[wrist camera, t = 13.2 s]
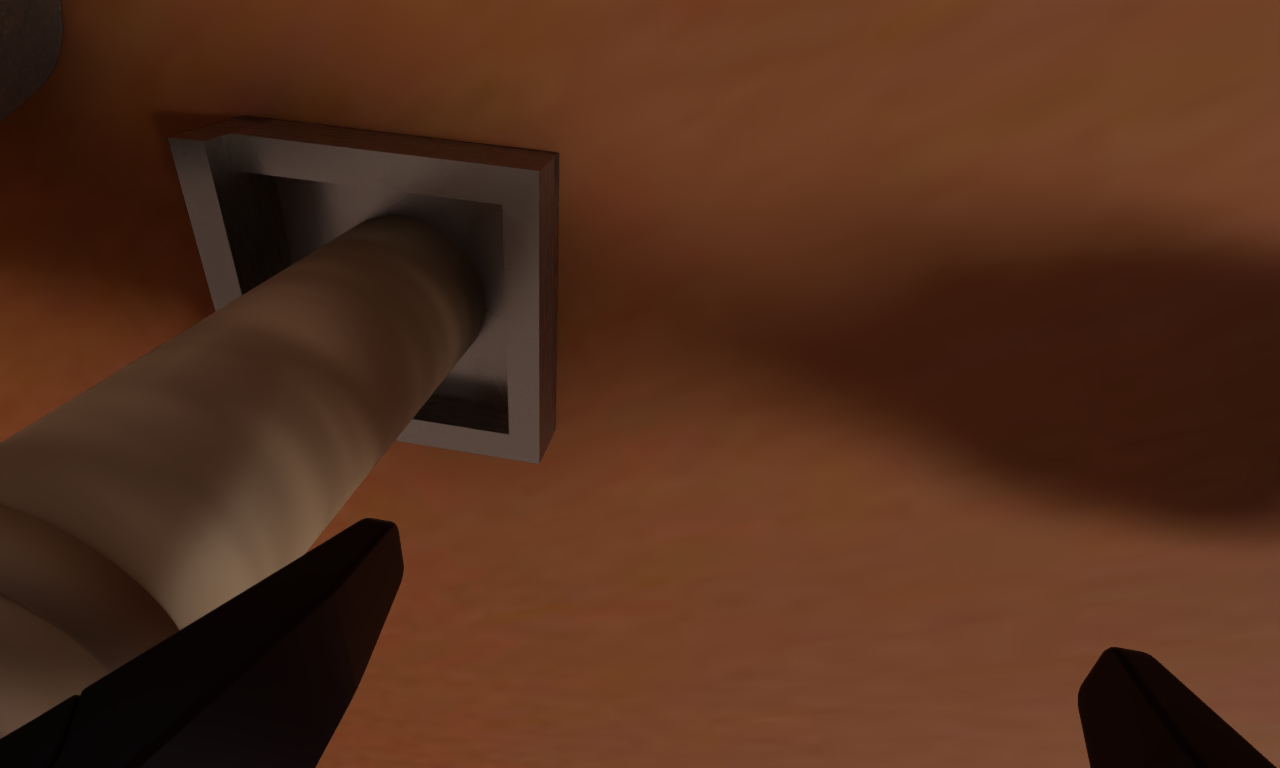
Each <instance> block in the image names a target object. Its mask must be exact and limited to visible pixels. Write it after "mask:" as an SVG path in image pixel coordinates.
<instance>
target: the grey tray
mask: <svg viewBox="0 0 1280 768" xmlns="http://www.w3.org/2000/svg"><path fill="white" fill-rule="evenodd" d="M168 141H169V145H170V148H171V152H172V156H173V159H174V163H175V167H176V170H177V174H178V177H179V181H180V185H181V188H182V192H183V196H184V199H185V203H186V207H187V210H188V214H189V217H190V221H191V225H192V228H193V232H194V236H195V239H196V243H197V246H198V250H199V254H200V257H201V261H202V265H203V268H204V272H205V276H206V279H207V283H208V286H209V290H210V294H211V297H212V301H213V305H214V308H215V312H216V311H217V310H219V309H221V308H222V307H224V306H226V305H227V304H229V303H230V302H232V301H234V300H235V299H237V298H239V297H240V296H242V295H244V294H245V293H247V292H248V291H250V290H252V289H253V288H255V287H257V286H258V285H260V284H262V283H263V282H265V281H266V280H268V279H270V278H271V277H273V276H275V275H276V274H278V273H280V272H281V271H283V270H284V269H286V268H288V267H289V266H291V265H293V264H294V263H296V262H298V261H299V260H301V259H302V258H304V257H306V256H307V255H309V254H311V253H312V252H314V251H316V250H317V249H319V248H320V247H322V246H324V245H325V244H327V243H329V242H330V241H332V240H334V239H335V238H337V237H338V236H340V235H342V234H343V233H345V232H347V231H348V230H350V229H352V228H353V227H355V226H356V225H358V224H360V223H362V222H364V221H366V220H369V219H371V218H376V217H381V216H400V217H405V218H410V219H414V220H417V221H420V222H423V223H425V224H427V225H429V226H431V227H433V228H435V229H436V230H438V231H439V232H441V233H443V234H444V235H445V236H446V237H448V238H449V239H450V240H451V241H453V242H454V243H455V244H456V245H457V246H458V247H459V248H460V249H461V251H462V252H463V253H464V254H465V255H466V257H467V258H468V260H469V261H470V263H471V264H472V266H473V267H474V269H475V271H476V273H477V275H478V278H479V280H480V283H481V286H482V290H483V294H484V302H485V313H484V320H483V324H482V327H481V330H480V333H479V334H478V336H477V338H476V340H475V341H474V342H473V344H472V345H471V346H470V347H469V349H468V350H467V351H466V352H465V354H464V355H463V356H462V357H461V359H460V360H459V361H458V362H457V364H456V365H455V366H454V367H453V369H452V370H451V371H450V372H449V374H448V375H447V376H446V377H445V379H444V380H443V381H442V382H441V384H440V385H439V386H438V387H437V389H436V390H435V391H434V392H433V394H432V395H431V396H430V397H429V399H428V400H427V401H426V402H425V404H424V405H423V406H422V408H421V409H420V410H419V411H418V413H417V414H416V415H415V416H414V418H413V419H412V420H411V421H410V423H409V424H408V425H407V426H406V428H405V429H404V430H403V431H402V433H401V434H400V435H399V436H398V438H397V439H396V440H395V441H401V442H407V443H413V444H420V445H426V446H432V447H438V448H444V449H450V450H456V451H463V452H469V453H475V454H481V455H487V456H493V457H499V458H505V459H512V460H518V461H524V462H530V463H536V464H540V462H541V460H542V457H543V455H544V453H545V451H546V449H547V447H548V444H549V442H550V440H551V438H552V436H553V434H554V431H555V425H556V350H557V276H558V202H559V153H554V152H546V151H538V150H529V149H521V148H512V147H504V146H495V145H487V144H478V143H470V142H461V141H453V140H445V139H436V138H428V137H419V136H411V135H402V134H394V133H385V132H377V131H368V130H360V129H352V128H343V127H335V126H326V125H318V124H309V123H301V122H292V121H284V120H275V119H267V118H259V117H250V116H240V117H237V118H233V119H229V120H226V121H222V122H219V123H215V124H212V125H208V126H205V127H201V128H198V129H194V130H190V131H187V132H183V133H180V134H176V135H173V136H169V137H168Z"/></svg>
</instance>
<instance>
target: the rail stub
mask: <svg viewBox="0 0 1280 768" xmlns="http://www.w3.org/2000/svg"><path fill="white" fill-rule="evenodd" d="M484 313H485V302H484V294H483V290H482V286H481V283H480V280H479V278H478V275H477V273H476V271H475V269H474V267H473V266H472V264H471V263H470V261H469V260H468V258H467V257H466V255H465V254H464V253H463V252H462V251H461V249H460V248H459V247H458V246H457V245H456V244H455V243H454V242H453V241H451V240H450V239H449V238H448V237H446V236H445V235H444V234H443V233H441V232H439V231H438V230H436V229H435V228H433V227H431V226H429V225H427V224H425V223H423V222H420V221H417V220H414V219H410V218H405V217H400V216H381V217H376V218H371V219H369V220H366V221H364V222H362V223H360V224H358V225H356V226H355V227H353V228H352V229H350V230H348V231H347V232H345V233H343V234H342V235H340V236H338V237H337V238H335V239H334V240H332V241H330V242H329V243H327V244H325V245H324V246H322V247H320V248H319V249H317V250H316V251H314V252H312V253H311V254H309V255H307V256H306V257H304V258H302V259H301V260H299V261H298V262H296V263H294V264H293V265H291V266H289V267H288V268H286V269H284V270H283V271H281V272H280V273H278V274H276V275H275V276H273V277H271V278H270V279H268V280H266V281H265V282H263V283H262V284H260V285H258V286H257V287H255V288H253V289H252V290H250V291H248V292H247V293H245V294H244V295H242V296H240V297H239V298H237V299H235V300H234V301H232V302H230V303H229V304H227V305H226V306H224V307H222V308H221V309H219V310H217V311H216V312H214V313H212V314H211V315H209V316H208V317H206V318H204V319H203V320H201V321H199V322H198V323H196V324H194V325H193V326H191V327H190V328H188V329H186V330H185V331H183V332H181V333H180V334H178V335H176V336H175V337H173V338H172V339H170V340H168V341H167V342H165V343H163V344H162V345H160V346H158V347H157V348H155V349H154V350H152V351H150V352H149V353H147V354H145V355H144V356H142V357H140V358H139V359H137V360H136V361H134V362H132V363H131V364H129V365H127V366H126V367H124V368H122V369H121V370H119V371H118V372H116V373H114V374H113V375H111V376H109V377H108V378H106V379H104V380H103V381H101V382H100V383H98V384H96V385H95V386H93V387H91V388H90V389H88V390H86V391H85V392H83V393H82V394H80V395H78V396H77V397H75V398H73V399H72V400H70V401H68V402H67V403H65V404H64V405H62V406H60V407H59V408H57V409H55V410H54V411H52V412H50V413H49V414H47V415H46V416H44V417H42V418H41V419H39V420H37V421H36V422H34V423H32V424H31V425H29V426H28V427H26V428H24V429H23V430H21V431H19V432H18V433H16V434H14V435H13V436H11V437H10V438H8V439H6V440H5V441H3V442H1V443H0V739H1V738H3V737H4V736H6V735H8V734H9V733H11V732H13V731H14V730H16V729H18V728H20V727H21V726H23V725H25V724H26V723H28V722H30V721H31V720H33V719H35V718H36V717H38V716H40V715H41V714H43V713H45V712H46V711H48V710H50V709H51V708H53V707H55V706H56V705H58V704H59V703H61V702H63V701H64V700H66V699H68V698H69V697H71V696H73V695H80V694H81V692H82V690H83V689H85V688H86V687H88V686H89V685H91V684H93V683H94V682H96V681H98V680H99V679H101V678H103V677H104V676H106V675H107V674H109V673H111V672H112V671H114V670H116V669H117V668H119V667H121V666H122V665H124V664H125V663H127V662H129V661H130V660H132V659H134V658H135V657H137V656H139V655H140V654H142V653H144V652H145V651H147V650H148V649H150V648H152V647H153V646H155V645H157V644H158V643H160V642H162V641H163V640H165V639H166V638H168V637H170V636H171V635H173V634H175V633H176V632H178V631H180V630H181V629H183V628H184V627H186V626H188V625H189V624H191V623H193V622H194V621H196V620H198V619H199V618H201V617H203V616H204V615H206V614H207V613H209V612H211V611H212V610H214V609H216V608H217V607H219V606H221V605H222V604H224V603H225V602H227V601H229V600H230V599H232V598H234V597H235V596H237V595H239V594H240V593H242V592H244V591H245V590H247V589H248V588H250V587H252V586H253V585H255V584H257V583H258V582H260V581H262V580H263V579H265V578H266V577H268V576H270V575H271V574H273V573H275V572H276V571H278V570H280V569H281V568H283V567H284V566H286V565H288V564H289V563H291V562H293V561H294V560H296V559H298V558H299V557H301V556H303V555H304V554H305V553H306V552H307V550H308V549H309V548H310V547H311V545H312V544H313V543H314V542H315V540H316V539H317V538H318V537H319V535H320V534H321V533H322V532H323V530H324V529H325V528H326V527H327V525H328V524H329V523H330V522H331V520H332V519H333V518H334V517H335V515H336V514H337V513H338V512H339V510H340V509H341V508H342V507H343V505H344V504H345V503H346V501H347V500H348V499H349V498H350V496H351V495H352V494H353V493H354V491H355V490H356V489H357V488H358V486H359V485H360V484H361V483H362V481H363V480H364V479H365V478H366V476H367V475H368V474H369V473H370V471H371V470H372V469H373V468H374V466H375V465H376V464H377V463H378V461H379V460H380V459H381V458H382V456H383V455H384V454H385V453H386V451H387V450H388V449H389V448H390V446H391V445H392V444H393V443H394V441H395V440H396V439H397V438H398V436H399V435H400V434H401V433H402V431H403V430H404V429H405V428H406V426H407V425H408V424H409V423H410V421H411V420H412V419H413V418H414V416H415V415H416V414H417V413H418V411H419V410H420V409H421V408H422V406H423V405H424V404H425V402H426V401H427V400H428V399H429V397H430V396H431V395H432V394H433V392H434V391H435V390H436V389H437V387H438V386H439V385H440V384H441V382H442V381H443V380H444V379H445V377H446V376H447V375H448V374H449V372H450V371H451V370H452V369H453V367H454V366H455V365H456V364H457V362H458V361H459V360H460V359H461V357H462V356H463V355H464V354H465V352H466V351H467V350H468V349H469V347H470V346H471V345H472V344H473V342H474V341H475V340H476V338H477V336H478V334H479V333H480V330H481V327H482V324H483V320H484Z"/></svg>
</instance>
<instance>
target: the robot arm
mask: <svg viewBox="0 0 1280 768" xmlns="http://www.w3.org/2000/svg"><path fill="white" fill-rule="evenodd" d="M403 571H404V563H403V557H402V550H401V543H400V537H399V531H398V527H397V526H396V524H395V523H393V522H391V521H385V520H379V519H373V518H365V519H362V520H360V521H358V522H357V523H355V524H353V525H352V526H350V527H348V528H347V529H345V530H344V531H342V532H340V533H339V534H337V535H335V536H334V537H332V538H330V539H329V540H327V541H325V542H324V543H322V544H321V545H319V546H317V547H316V548H314V549H312V550H311V551H309V552H307V553H306V554H304V555H303V556H301V557H299V558H298V559H296V560H294V561H293V562H291V563H289V564H288V565H286V566H284V567H283V568H281V569H280V570H278V571H276V572H275V573H273V574H271V575H270V576H268V577H266V578H265V579H263V580H262V581H260V582H258V583H257V584H255V585H253V586H252V587H250V588H248V589H247V590H245V591H244V592H242V593H240V594H239V595H237V596H235V597H234V598H232V599H230V600H229V601H227V602H225V603H224V604H222V605H221V606H219V607H217V608H216V609H214V610H212V611H211V612H209V613H207V614H206V615H204V616H203V617H201V618H199V619H198V620H196V621H194V622H193V623H191V624H189V625H188V626H186V627H184V628H183V629H181V630H180V631H178V632H176V633H175V634H173V635H171V636H170V637H168V638H166V639H165V640H163V641H162V642H160V643H158V644H157V645H155V646H153V647H152V648H150V649H148V650H147V651H145V652H144V653H142V654H140V655H139V656H137V657H135V658H134V659H132V660H130V661H129V662H127V663H125V664H124V665H122V666H121V667H119V668H117V669H116V670H114V671H112V672H111V673H109V674H107V675H106V676H104V677H103V678H101V679H99V680H98V681H96V682H94V683H93V684H91V685H89V686H88V687H86V688H85V689H83V690H82V692H81V694H80V695H73V696H71V697H69V698H68V699H66V700H64V701H63V702H61V703H59V704H58V705H56V706H55V707H53V708H51V709H50V710H48V711H46V712H45V713H43V714H41V715H40V716H38V717H36V718H35V719H33V720H31V721H30V722H28V723H26V724H25V725H23V726H21V727H20V728H18V729H16V730H14V731H13V732H11V733H9V734H8V735H6V736H4V737H3V738H1V739H0V768H315V767H316V766H317V764H318V762H319V760H320V758H321V756H322V754H323V753H324V751H325V749H326V747H327V745H328V743H329V741H330V739H331V738H332V736H333V734H334V732H335V730H336V728H337V726H338V725H339V723H340V721H341V719H342V717H343V715H344V713H345V712H346V710H347V708H348V706H349V704H350V702H351V700H352V698H353V696H354V694H355V692H356V690H357V688H358V686H359V683H360V681H361V679H362V677H363V674H364V672H365V670H366V667H367V665H368V662H369V660H370V657H371V655H372V652H373V650H374V647H375V645H376V643H377V640H378V638H379V635H380V633H381V630H382V628H383V625H384V623H385V621H386V618H387V616H388V613H389V611H390V608H391V606H392V603H393V601H394V599H395V596H396V594H397V591H398V589H399V586H400V584H401V581H402V577H403ZM1078 709H1079V714H1080V719H1081V723H1082V728H1083V733H1084V738H1085V743H1086V748H1087V753H1088V758H1089V762H1090V767H1091V768H1276V767H1275V766H1274V765H1273V764H1272V763H1271V762H1270V761H1269V760H1267V759H1266V758H1265V757H1264V756H1263V755H1262V754H1261V753H1260V752H1259V751H1257V750H1256V749H1255V748H1254V747H1253V746H1252V745H1251V744H1250V743H1249V742H1247V741H1246V740H1245V739H1244V738H1243V737H1242V736H1241V735H1240V734H1239V733H1237V732H1236V731H1235V730H1234V729H1233V728H1232V727H1231V726H1230V725H1228V724H1227V723H1226V722H1225V721H1224V720H1223V719H1222V718H1221V717H1220V716H1218V715H1217V714H1216V713H1215V712H1214V711H1213V710H1212V709H1211V708H1210V707H1208V706H1207V705H1206V704H1205V703H1204V702H1203V701H1202V700H1201V699H1200V698H1198V697H1197V696H1196V695H1195V694H1194V693H1193V692H1192V691H1191V690H1189V689H1188V688H1187V687H1186V686H1185V685H1184V684H1183V683H1182V682H1181V681H1179V680H1178V679H1177V678H1176V677H1175V676H1174V675H1173V674H1172V673H1171V672H1169V671H1168V670H1167V669H1166V668H1165V667H1164V666H1163V665H1162V664H1161V663H1159V662H1158V661H1157V660H1156V659H1155V658H1153V657H1152V656H1151V655H1149V654H1147V653H1144V652H1141V651H1135V650H1130V649H1124V648H1118V647H1111V648H1109V649H1107V650H1105V651H1104V652H1103V653H1102V655H1101V656H1100V658H1099V659H1098V661H1097V662H1096V664H1095V665H1094V667H1093V668H1092V670H1091V671H1090V673H1089V674H1088V676H1087V677H1086V679H1085V680H1084V682H1083V683H1082V685H1081V687H1080V690H1079V693H1078Z"/></svg>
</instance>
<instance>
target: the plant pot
mask: <svg viewBox="0 0 1280 768" xmlns="http://www.w3.org/2000/svg"><path fill="white" fill-rule="evenodd" d="M62 29H63V28H62V16H61V4H60V0H0V122H1V121H2V120H4V119H5V118H6V117H7V116H8V115H9V114H11V113H12V112H13V111H14V110H15V109H16V108H17V107H19V106H20V105H21V104H22V103H23V102H24V101H25V100H26V99H27V98H28V97H30V96H31V95H32V94H33V93H34V92H35V91H36V90H37V89H38V88H39V87H41V86H42V85H43V84H44V82H45V81H46V80H47V79H48V78H49V76H50V74H51V72H52V70H53V69H54V67H55V65H56V63H57V60H58V57H59V53H60V48H61V42H62Z"/></svg>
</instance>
